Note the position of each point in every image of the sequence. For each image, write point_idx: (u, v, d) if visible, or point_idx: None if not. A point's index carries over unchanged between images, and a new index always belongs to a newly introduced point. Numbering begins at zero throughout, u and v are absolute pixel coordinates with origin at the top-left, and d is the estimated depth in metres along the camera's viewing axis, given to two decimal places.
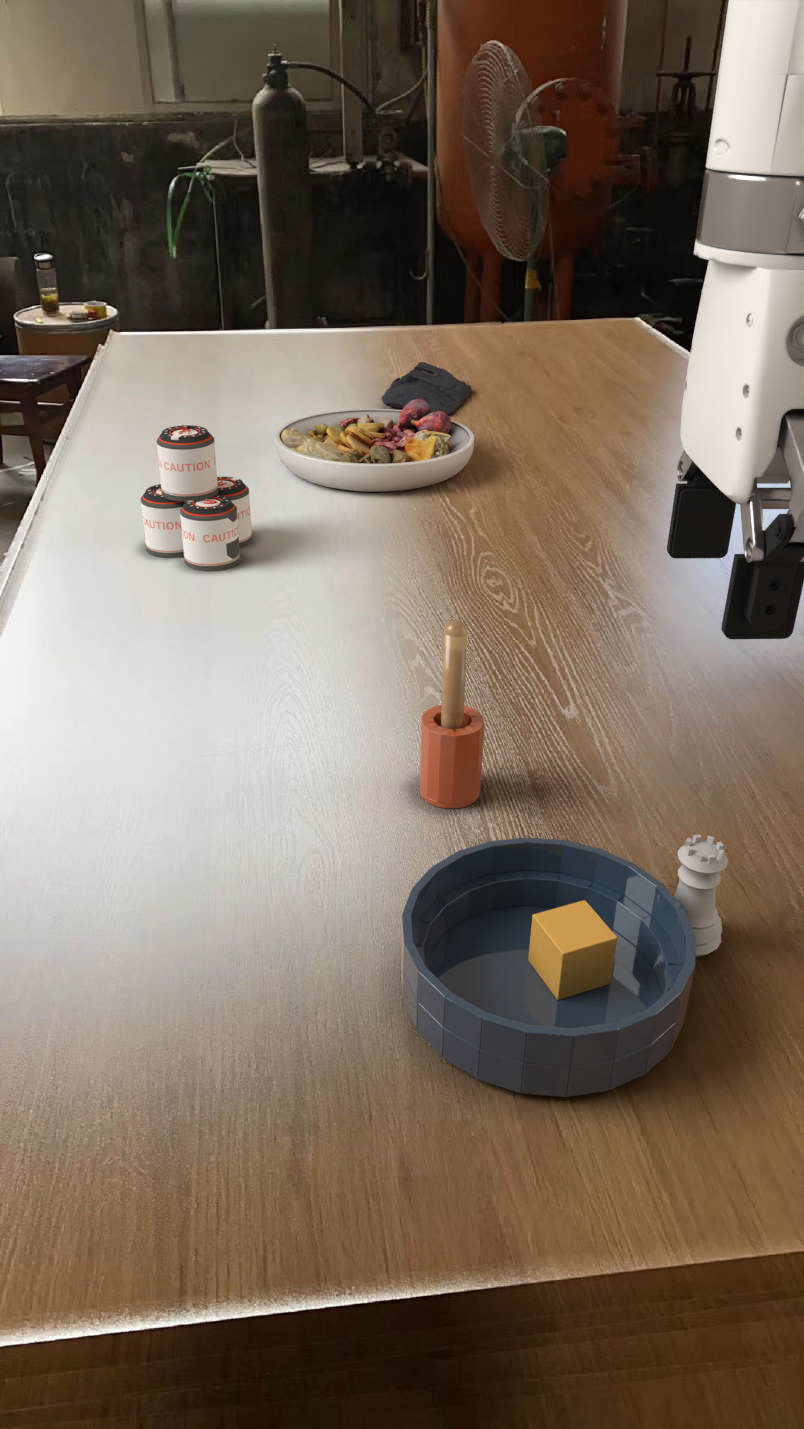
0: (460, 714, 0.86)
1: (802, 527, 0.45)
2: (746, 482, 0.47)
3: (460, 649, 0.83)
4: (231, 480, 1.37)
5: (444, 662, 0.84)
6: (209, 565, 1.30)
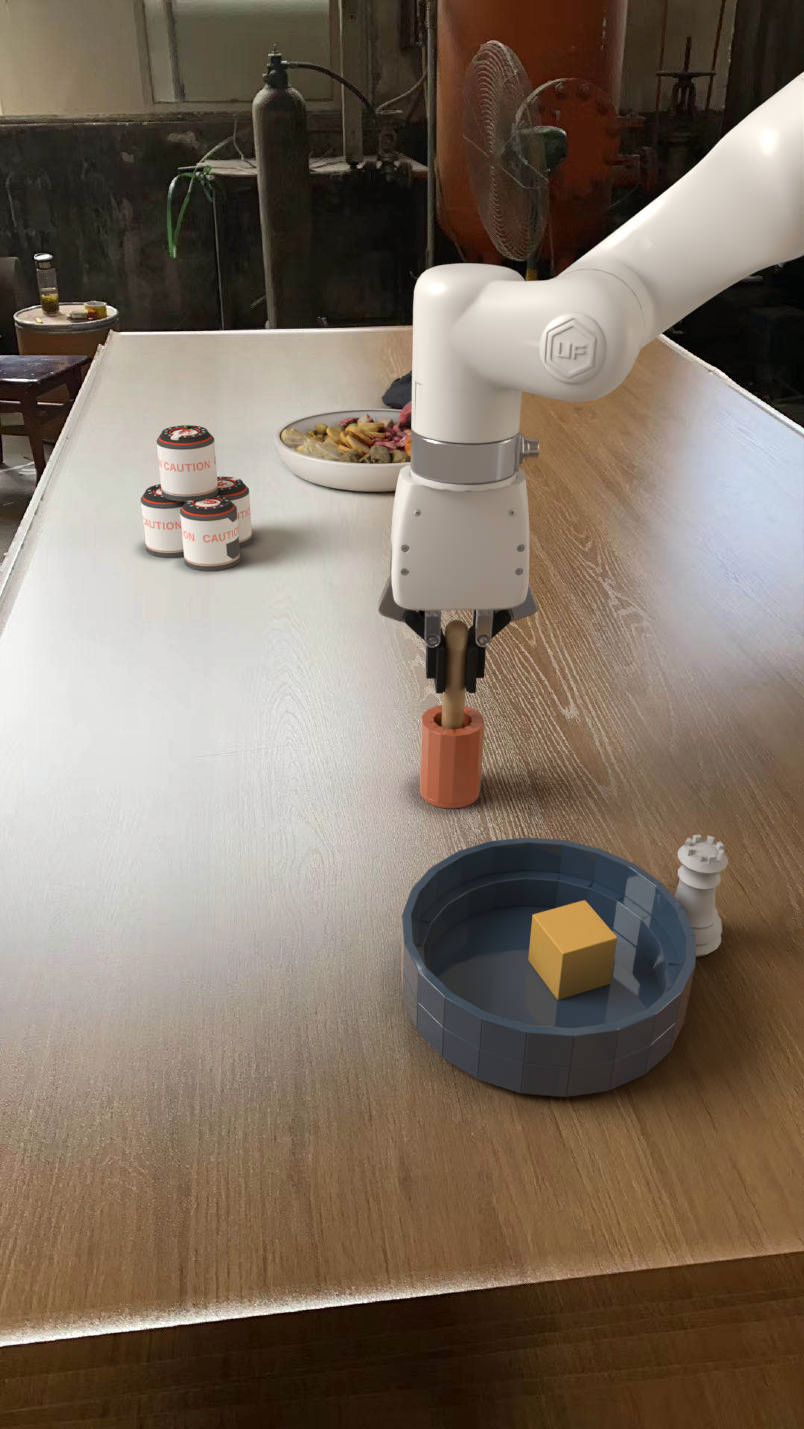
0: (461, 714, 0.86)
1: None
2: (526, 592, 0.80)
3: (461, 649, 0.83)
4: (231, 480, 1.37)
5: None
6: (209, 565, 1.30)
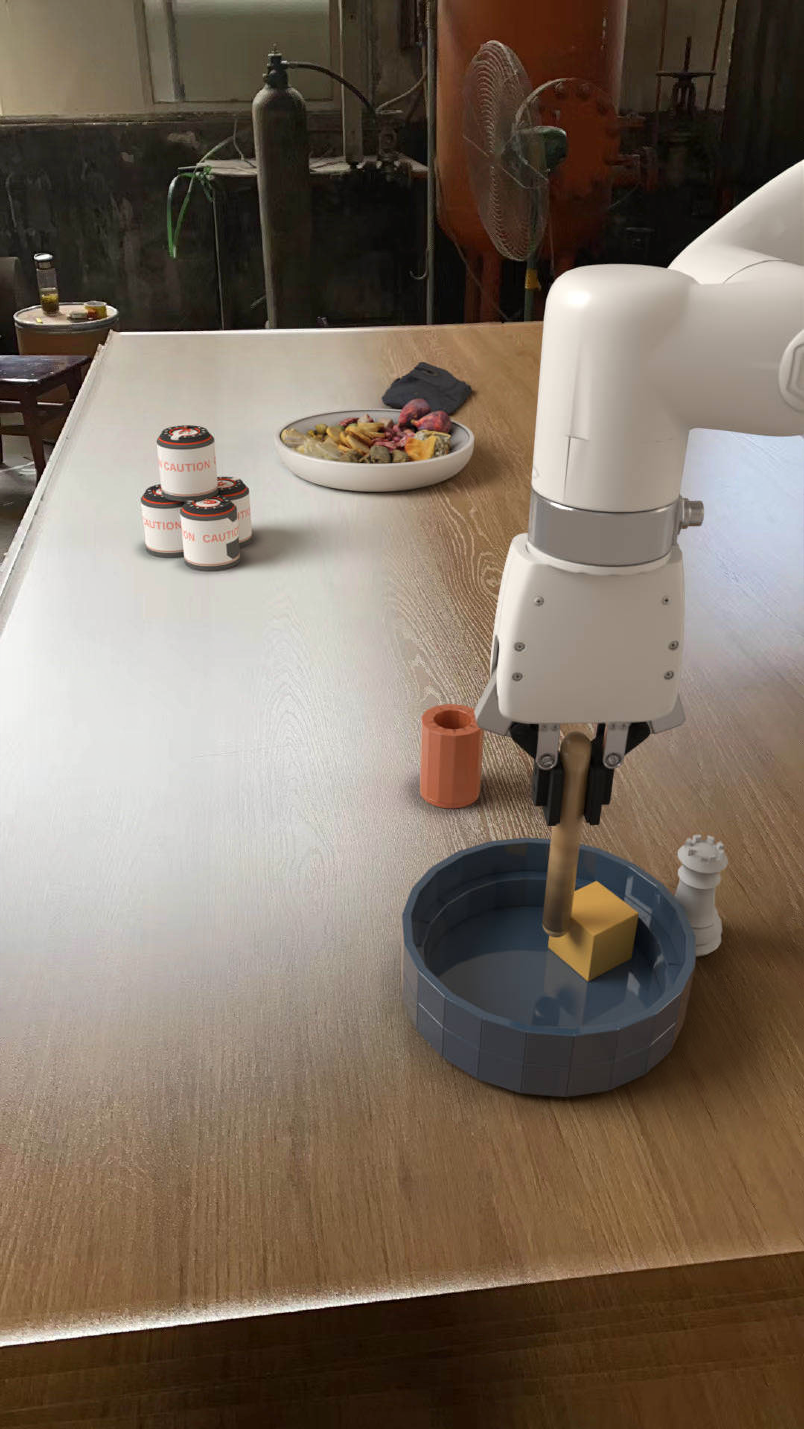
0: (576, 849, 0.66)
1: None
2: (675, 701, 0.60)
3: (582, 770, 0.63)
4: (231, 480, 1.37)
5: None
6: (209, 565, 1.30)
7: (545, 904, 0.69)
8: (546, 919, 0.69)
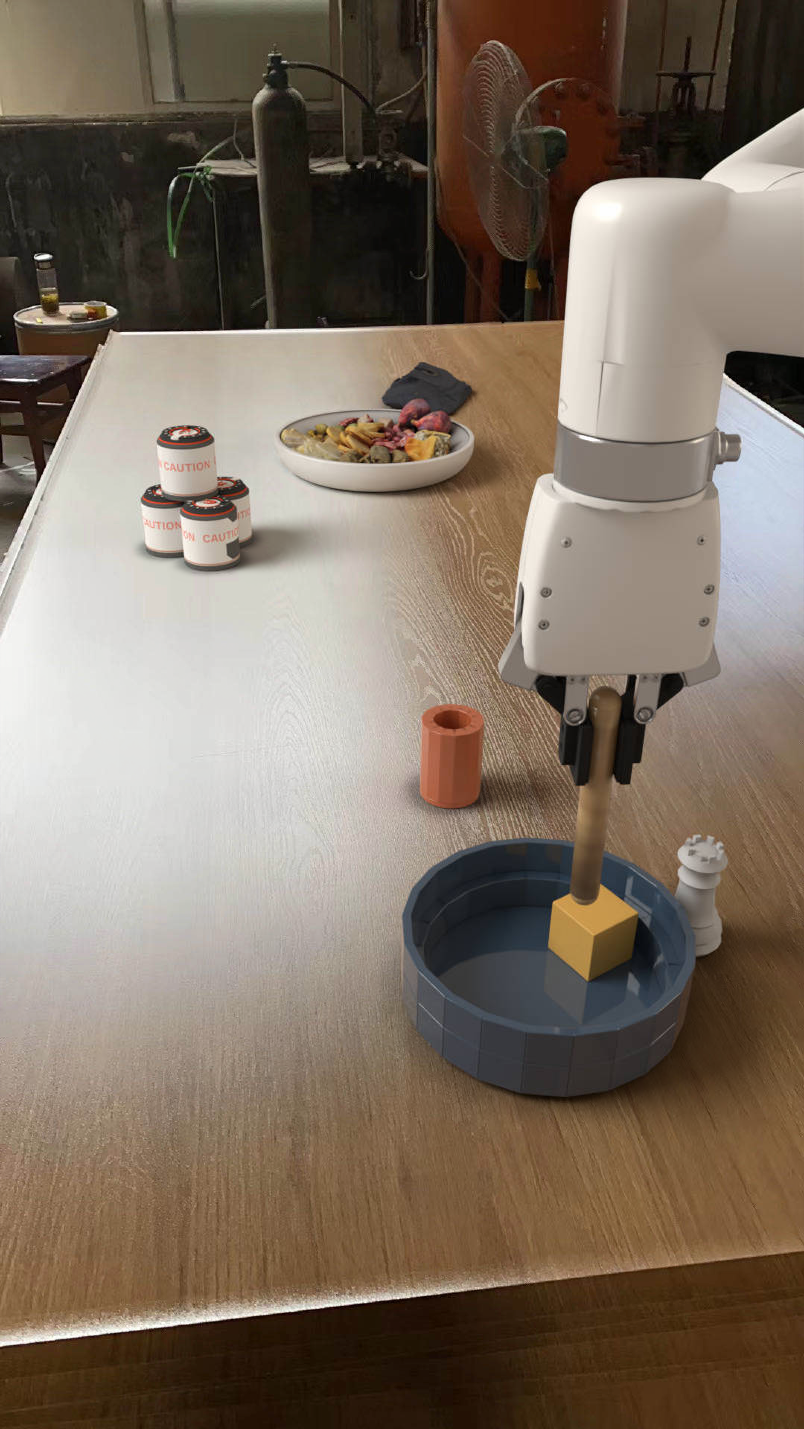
0: (605, 811, 0.63)
1: None
2: (710, 650, 0.57)
3: (612, 726, 0.60)
4: (231, 480, 1.37)
5: None
6: (209, 565, 1.30)
7: (573, 870, 0.66)
8: (574, 886, 0.66)
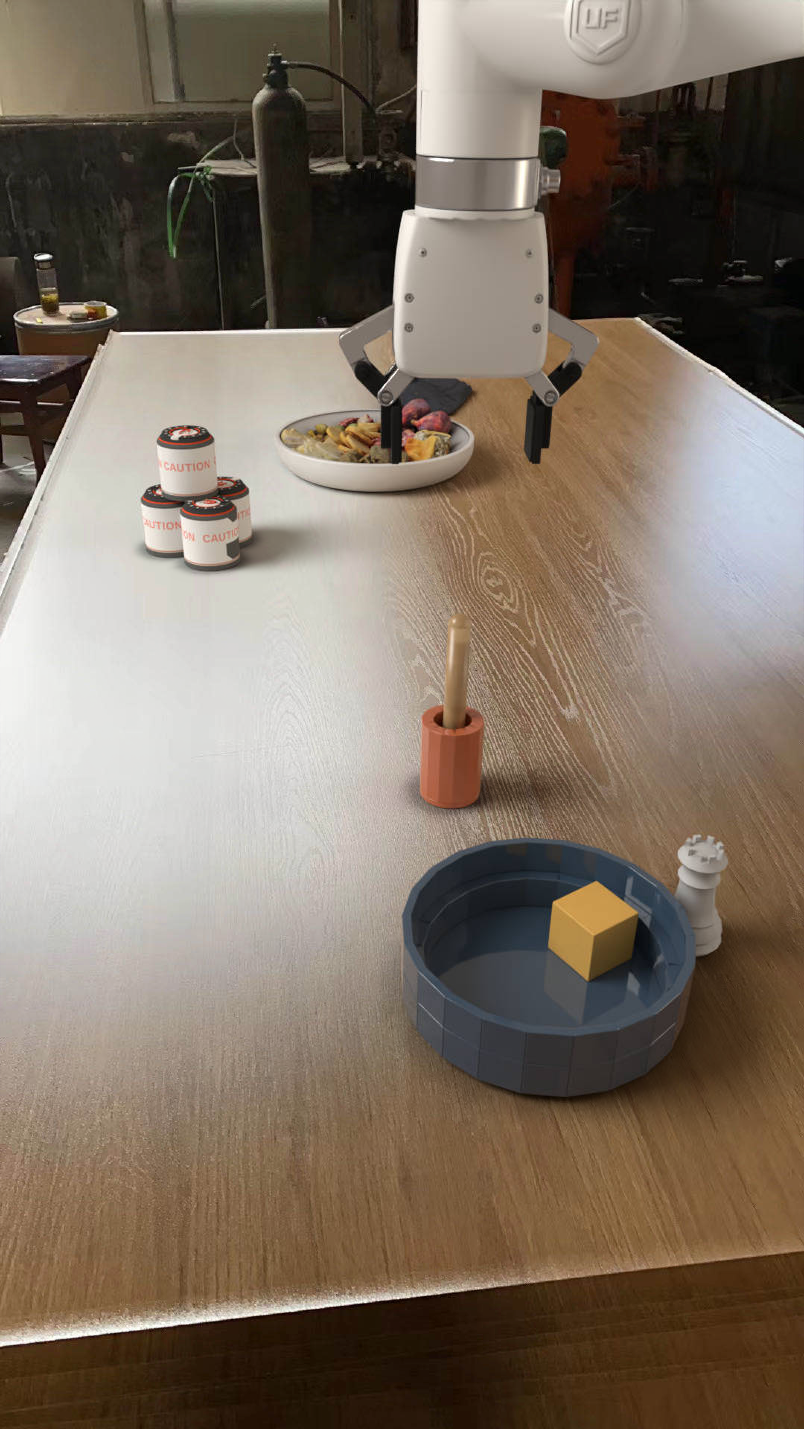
0: (462, 710, 0.87)
1: None
2: (544, 356, 0.72)
3: (464, 642, 0.84)
4: (231, 480, 1.37)
5: (448, 655, 0.85)
6: (209, 565, 1.30)
7: None
8: None
